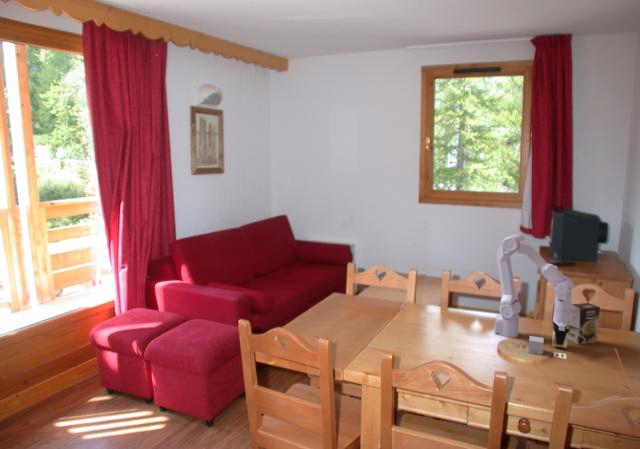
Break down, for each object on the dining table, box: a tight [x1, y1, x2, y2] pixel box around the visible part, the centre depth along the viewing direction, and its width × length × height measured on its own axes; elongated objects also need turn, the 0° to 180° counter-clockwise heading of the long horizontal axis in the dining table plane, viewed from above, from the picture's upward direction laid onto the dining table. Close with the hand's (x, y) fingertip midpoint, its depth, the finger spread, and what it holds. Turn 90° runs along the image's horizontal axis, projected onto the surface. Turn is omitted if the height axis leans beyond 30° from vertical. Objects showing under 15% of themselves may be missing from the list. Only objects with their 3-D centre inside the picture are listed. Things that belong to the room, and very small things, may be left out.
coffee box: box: [567, 302, 601, 345], centre depth 196 cm, size 9×6×16 cm
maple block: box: [551, 329, 569, 349], centre depth 190 cm, size 5×5×5 cm
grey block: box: [528, 335, 545, 355], centre depth 186 cm, size 5×5×5 cm
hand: (559, 341), depth 190 cm, fingers closed on maple block, 5 cm apart
